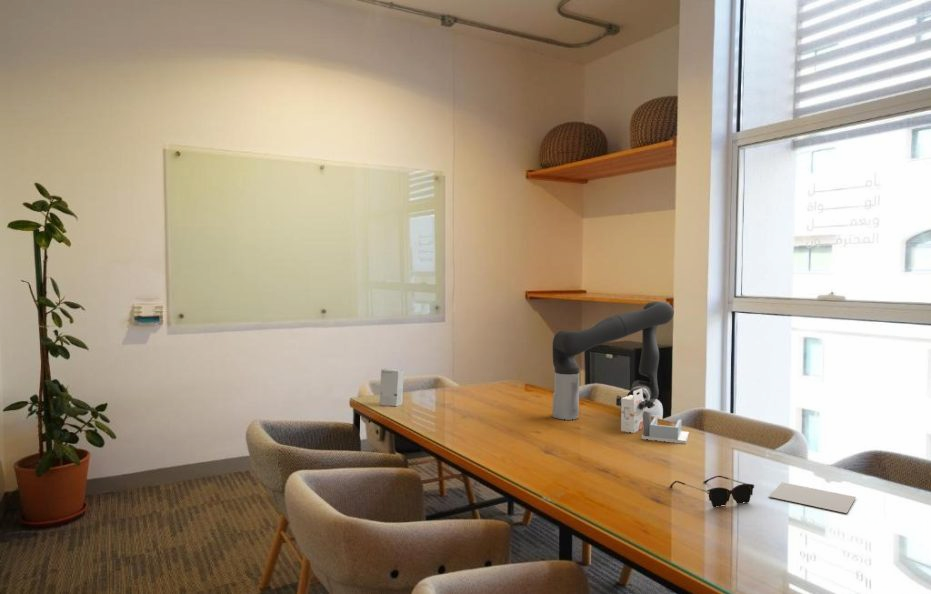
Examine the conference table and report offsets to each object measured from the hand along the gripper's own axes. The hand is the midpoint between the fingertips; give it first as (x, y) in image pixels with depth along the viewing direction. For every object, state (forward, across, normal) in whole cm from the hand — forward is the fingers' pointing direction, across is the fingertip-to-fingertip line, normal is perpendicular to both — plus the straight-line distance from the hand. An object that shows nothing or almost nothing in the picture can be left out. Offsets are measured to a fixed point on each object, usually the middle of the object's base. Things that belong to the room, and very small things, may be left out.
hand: (631, 405), depth 220 cm
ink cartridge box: (-2, 0, +9) cm, 9 cm away
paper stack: (+45, +57, +10) cm, 73 cm away
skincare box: (-2, -98, +9) cm, 98 cm away
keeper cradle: (+3, +12, +9) cm, 15 cm away
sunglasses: (+57, +28, +10) cm, 64 cm away
